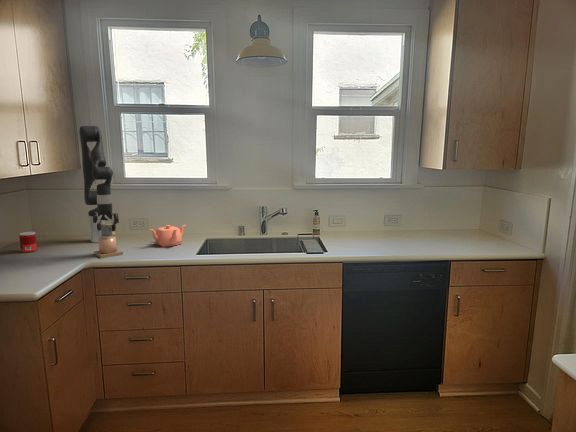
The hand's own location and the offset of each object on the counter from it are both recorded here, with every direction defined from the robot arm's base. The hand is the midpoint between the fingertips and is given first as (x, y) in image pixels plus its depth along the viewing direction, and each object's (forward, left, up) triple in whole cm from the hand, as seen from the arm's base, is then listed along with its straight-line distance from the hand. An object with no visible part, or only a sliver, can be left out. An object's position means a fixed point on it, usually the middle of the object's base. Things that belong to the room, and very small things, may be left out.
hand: (106, 230), depth 214 cm
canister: (0, 0, -14) cm, 14 cm away
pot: (+2, +37, -14) cm, 39 cm away
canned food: (-36, -32, -14) cm, 50 cm away
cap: (0, 0, -3) cm, 3 cm away
